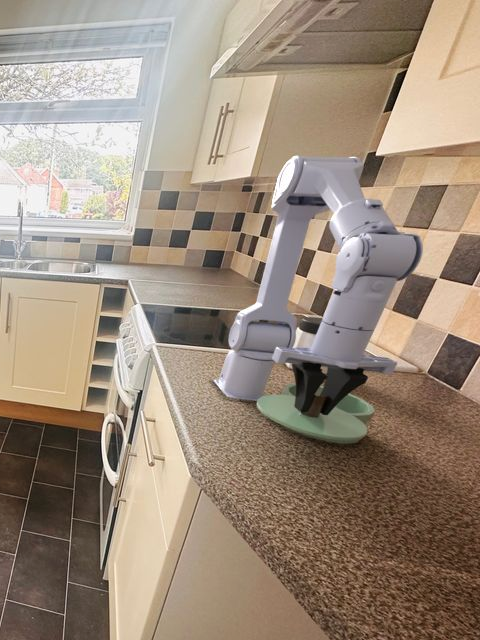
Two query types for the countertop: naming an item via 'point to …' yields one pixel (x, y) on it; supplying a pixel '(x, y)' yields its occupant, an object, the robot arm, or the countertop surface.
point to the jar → (307, 335)
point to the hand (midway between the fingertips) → (310, 410)
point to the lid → (312, 417)
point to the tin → (347, 404)
